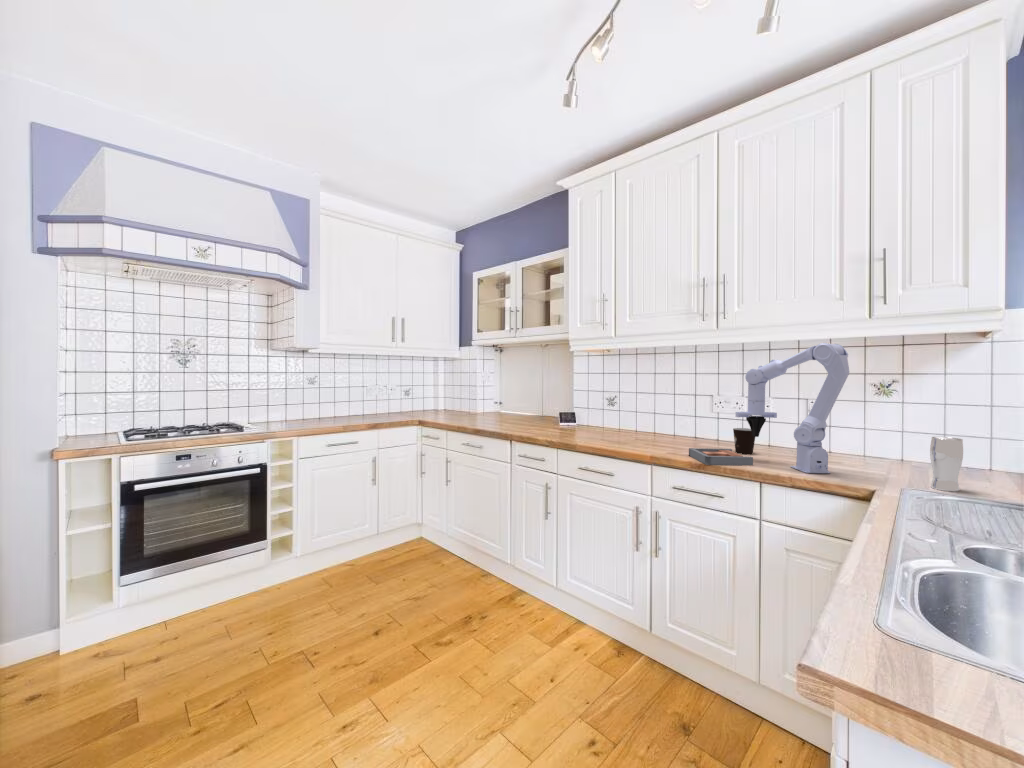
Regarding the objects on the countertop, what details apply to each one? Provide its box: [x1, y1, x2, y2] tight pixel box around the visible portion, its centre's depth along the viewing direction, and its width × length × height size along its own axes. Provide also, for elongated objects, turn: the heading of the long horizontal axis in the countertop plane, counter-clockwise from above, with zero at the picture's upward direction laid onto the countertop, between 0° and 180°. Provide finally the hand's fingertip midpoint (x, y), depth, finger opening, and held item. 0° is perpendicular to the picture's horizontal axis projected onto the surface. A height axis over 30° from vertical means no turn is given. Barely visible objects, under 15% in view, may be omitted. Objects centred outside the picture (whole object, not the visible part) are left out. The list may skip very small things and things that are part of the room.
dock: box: [688, 447, 754, 466], centre depth 170 cm, size 18×16×3 cm
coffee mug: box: [732, 427, 756, 455], centre depth 188 cm, size 12×9×10 cm
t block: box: [702, 450, 744, 457], centre depth 170 cm, size 12×12×3 cm
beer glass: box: [929, 436, 964, 493], centre depth 131 cm, size 7×7×15 cm
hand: (755, 436), depth 170 cm, fingers closed
